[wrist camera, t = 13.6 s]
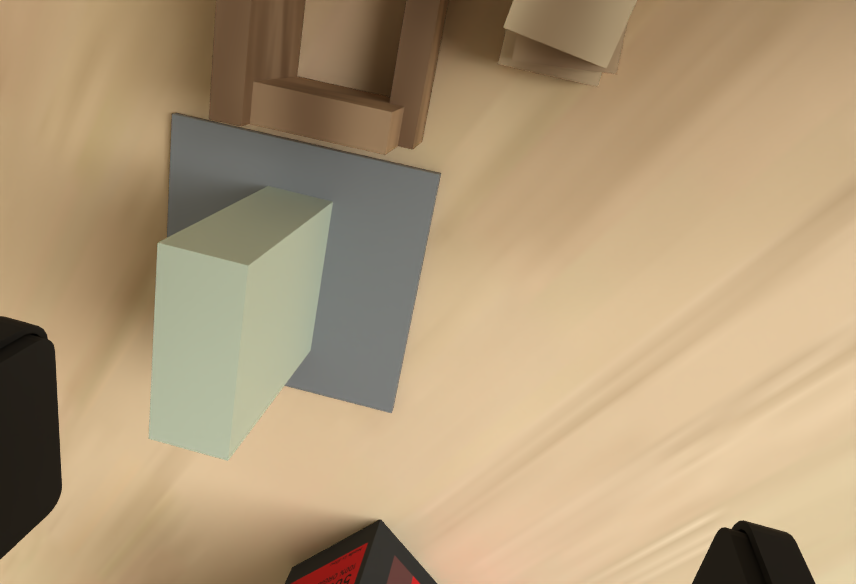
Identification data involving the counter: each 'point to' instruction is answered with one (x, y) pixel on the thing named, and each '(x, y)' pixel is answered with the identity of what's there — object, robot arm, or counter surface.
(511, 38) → the block
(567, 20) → the offcut top
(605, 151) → the counter surface
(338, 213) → the mat
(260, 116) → the rack
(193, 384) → the sage green brick
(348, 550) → the cleaning product box
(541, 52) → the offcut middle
